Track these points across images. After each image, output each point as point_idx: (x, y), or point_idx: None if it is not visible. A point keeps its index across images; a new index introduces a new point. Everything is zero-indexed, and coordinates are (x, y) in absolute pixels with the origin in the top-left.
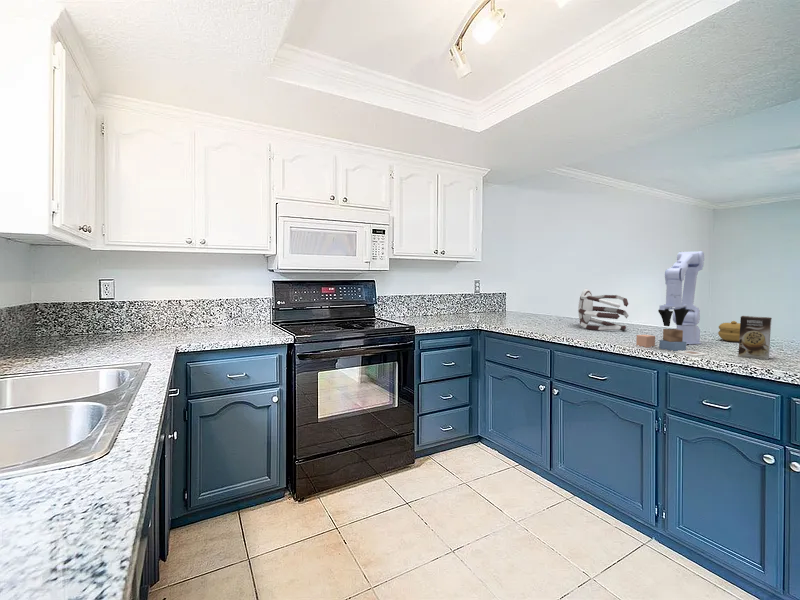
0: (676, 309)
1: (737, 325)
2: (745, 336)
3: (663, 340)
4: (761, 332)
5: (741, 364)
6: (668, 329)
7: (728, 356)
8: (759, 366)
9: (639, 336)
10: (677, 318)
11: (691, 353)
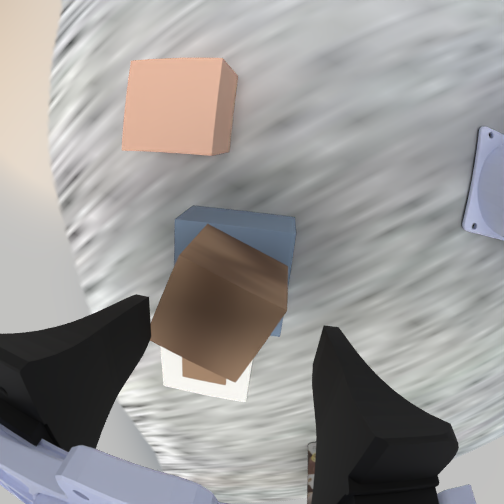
0: (401, 462)
1: None
2: None
3: (186, 241)
4: None
5: (180, 463)
6: (182, 302)
7: (278, 433)
8: (198, 480)
9: (130, 88)
10: (334, 381)
11: (182, 369)
